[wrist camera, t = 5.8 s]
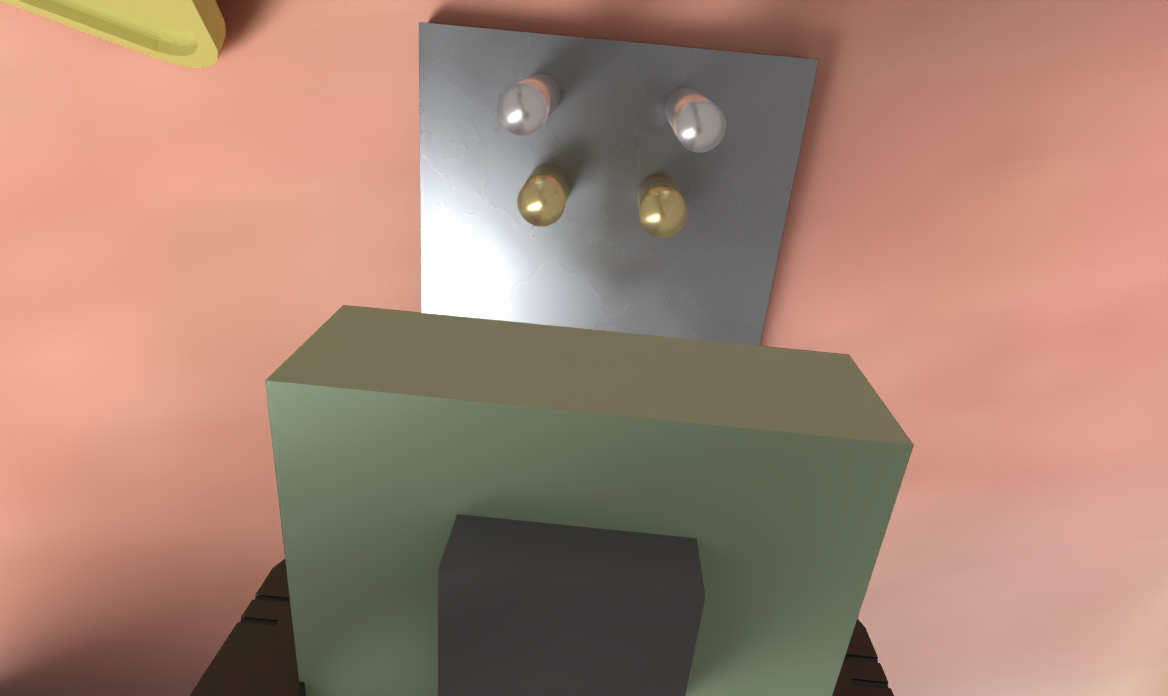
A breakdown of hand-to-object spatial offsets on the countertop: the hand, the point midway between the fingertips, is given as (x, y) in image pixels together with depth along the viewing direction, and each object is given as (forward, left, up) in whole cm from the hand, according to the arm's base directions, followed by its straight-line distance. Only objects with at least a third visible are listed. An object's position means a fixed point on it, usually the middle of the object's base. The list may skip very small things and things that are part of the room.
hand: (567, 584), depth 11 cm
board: (0, 0, +1) cm, 1 cm away
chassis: (0, 0, -15) cm, 15 cm away
